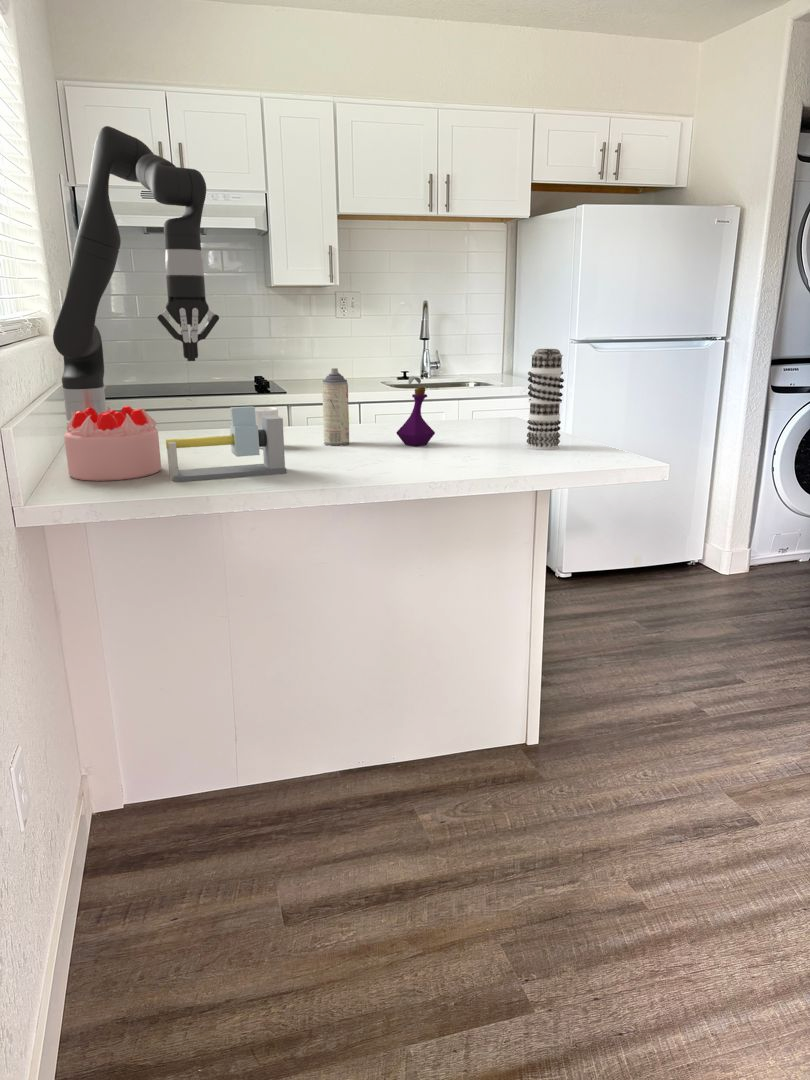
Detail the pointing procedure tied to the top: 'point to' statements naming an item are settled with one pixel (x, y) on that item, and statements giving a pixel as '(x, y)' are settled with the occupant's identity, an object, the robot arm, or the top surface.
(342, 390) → the aerosol can
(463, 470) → the top surface
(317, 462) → the top surface
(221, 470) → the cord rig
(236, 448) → the sleeve
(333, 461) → the top surface
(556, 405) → the decorative candle
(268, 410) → the white cup
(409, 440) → the perfume bottle
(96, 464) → the cake
